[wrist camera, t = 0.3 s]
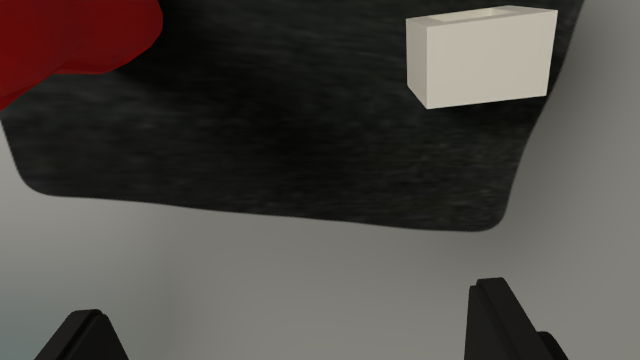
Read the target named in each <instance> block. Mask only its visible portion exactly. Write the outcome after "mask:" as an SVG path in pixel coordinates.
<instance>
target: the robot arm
mask: <svg viewBox="0 0 640 360" xmlns="http://www.w3.org/2000/svg"><path fill="white" fill-rule="evenodd" d="M34 360H129V359H128V357H127V355H126V353H125V351H124V349H123V347H122V345H121V343H120V341H119V339H118V337H117V334H116V332H115V330H114V328H113V326H112V324H111V322H110V320H109V318H108V317H107V316H106V315H105V314H103V313H102V312H101V311H100V310H98V309H91V310H78V311H74V312H72V313H71V314H70V315H69V316H68V317H67V318H66V319H65V321H64V322H63V323H62V325H61V326H60V327H59V328H58V330H57V331H56V332H55V334H54V335H53V336H52V338H51V339H50V340H49V341H48V343H47V344H46V345H45V346H44V348H43V349H42V350H41V352H40V353H39V354H38V355H37V357H36V358H35V359H34ZM464 360H568V358H567V356H566V355H565V353H564V352H563V350H562V349H561V347H560V346H559V344H558V343H557V341H556V340H555V339H554V337H553V336H552V335H551V334H550V333H548V332H545V331H541V332H537V331H536V330H535V328H534V326H533V325H532V323H531V322H530V320H529V318H528V317H527V315H526V313H525V312H524V310H523V308H522V307H521V305H520V303H519V302H518V300H517V299H516V297H515V295H514V294H513V292H512V291H511V289H510V287H509V286H508V284H507V282H506V281H505V279H504V278H502V277H500V278H487V279H478V280H477V283H476V285H475V286H470V289H469V301H468V314H467V327H466V341H465V354H464Z"/></svg>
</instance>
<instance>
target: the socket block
mask: <svg viewBox="0 0 640 360" xmlns="http://www.w3.org/2000/svg"><path fill="white" fill-rule="evenodd" d="M557 12H558V10H548V9H539V8H529V7H519V6H501V7H493V8H486V9H478V10H470V11H463V12H455V13H447V14H439V15H432V16H424V17H416V18H409V19H406V38H407V83H408V87H409V88H410V89H411V90H412V92H413V93H414V94H415V95H416V96H417V98H418V99H419V100H420V101H421V102H422V104H423V105H424V106H425V107H426V109H432V108H441V107H449V106H458V105H467V104H476V103H484V102H493V101H502V100H511V99H519V98H528V97H537V96H546V92H547V85H548V78H549V70H550V63H551V56H552V49H553V41H554V34H555V27H556V20H557Z"/></svg>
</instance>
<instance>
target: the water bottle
mask: <svg viewBox="0 0 640 360" xmlns="http://www.w3.org/2000/svg"><path fill="white" fill-rule="evenodd" d="M162 29H163V12H162V10H161V8H160V5H159V3H158V0H0V111H2V110H3V109H4V108H5V107H7V106H8V105H9V104H10V103H12V102H13V101H14V100H16V99H17V98H18V97H19V96H21V95H22V94H23V93H25V92H26V91H28V90H29V89H31V88H32V87H34V86H35V85H37V84H38V83H40V82H41V81H43V80H44V79H46V78H47V77H49V76H51V75H52V74H103V73H106V72H109V71H112V70H114V69H116V68H118V67H120V66H122V65H125V64H126V63H128V62H129V61H131V60H132V59H134V58H135V57H137V56H138V55H140V54H141V53H142V52H144V51H145V50H147V49H148V48H150V47H151V45H152V44H153V43H154V42H155V40H156V39H157V38H158V36H159V35H160V33H161V31H162Z"/></svg>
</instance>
